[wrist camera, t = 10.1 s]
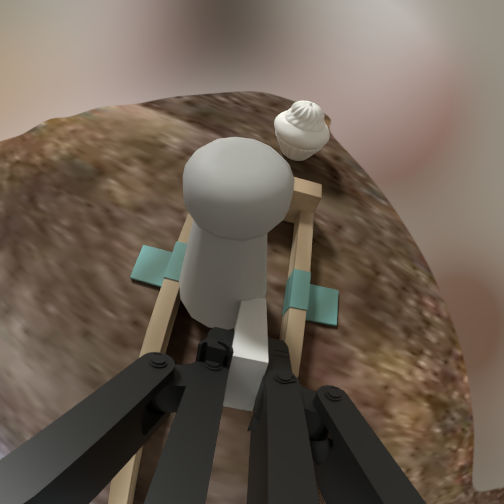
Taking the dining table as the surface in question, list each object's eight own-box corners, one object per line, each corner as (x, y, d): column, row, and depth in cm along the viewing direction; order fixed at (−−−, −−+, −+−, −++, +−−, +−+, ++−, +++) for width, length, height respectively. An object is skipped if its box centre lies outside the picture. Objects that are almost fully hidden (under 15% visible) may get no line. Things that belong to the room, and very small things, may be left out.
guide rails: (75, 496, 10) (51, 509, 7) (174, 182, 26) (171, 151, 22) (297, 544, 11) (315, 566, 8) (337, 221, 26) (354, 194, 23)
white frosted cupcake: (323, 148, 32) (341, 102, 27) (314, 177, 29) (336, 126, 23) (276, 131, 33) (288, 83, 27) (261, 157, 30) (273, 103, 24)
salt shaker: (274, 312, 21) (351, 190, 10) (209, 353, 18) (215, 258, 7) (231, 253, 23) (259, 108, 12) (168, 286, 20) (138, 142, 9)
